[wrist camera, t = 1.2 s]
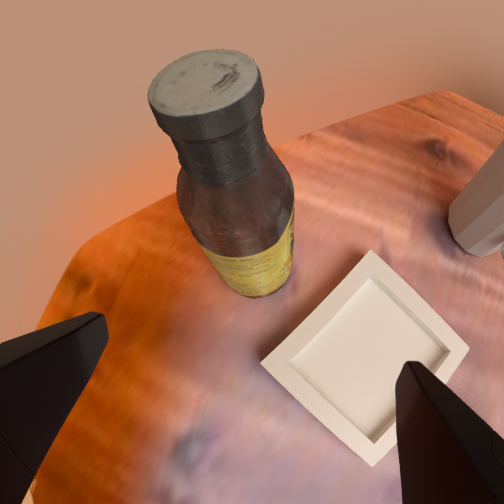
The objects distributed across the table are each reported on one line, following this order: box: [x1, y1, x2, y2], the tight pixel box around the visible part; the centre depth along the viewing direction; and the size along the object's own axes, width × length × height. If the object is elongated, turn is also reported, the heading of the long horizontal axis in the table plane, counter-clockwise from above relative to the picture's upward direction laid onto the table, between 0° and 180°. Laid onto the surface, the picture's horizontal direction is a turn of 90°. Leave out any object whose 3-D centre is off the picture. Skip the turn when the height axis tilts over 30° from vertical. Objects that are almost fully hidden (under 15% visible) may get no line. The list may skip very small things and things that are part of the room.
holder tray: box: [260, 249, 470, 467], centre depth 23 cm, size 13×13×2 cm
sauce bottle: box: [148, 49, 294, 299], centre depth 19 cm, size 7×6×20 cm
